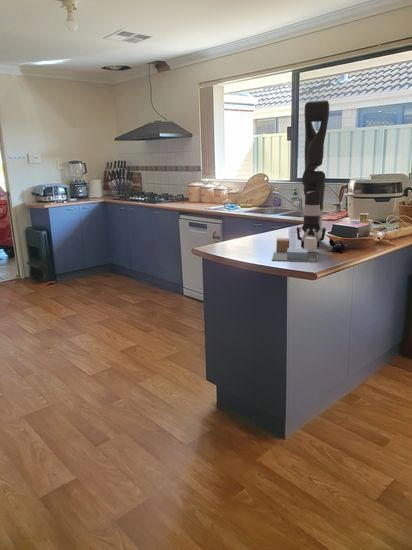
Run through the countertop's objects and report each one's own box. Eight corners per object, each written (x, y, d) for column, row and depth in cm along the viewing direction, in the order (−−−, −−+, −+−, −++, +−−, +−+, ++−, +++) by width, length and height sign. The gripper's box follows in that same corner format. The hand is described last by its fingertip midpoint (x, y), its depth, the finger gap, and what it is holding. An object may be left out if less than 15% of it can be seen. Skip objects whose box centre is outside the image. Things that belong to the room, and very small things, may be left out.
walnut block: (276, 249, 216) (277, 238, 214) (289, 250, 215) (289, 238, 213) (276, 252, 210) (276, 240, 209) (288, 252, 209) (289, 240, 207)
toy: (327, 249, 207) (327, 236, 220) (330, 260, 210) (331, 246, 222) (346, 244, 204) (345, 230, 216) (350, 255, 206) (349, 241, 219)
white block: (303, 249, 213) (304, 237, 212) (316, 249, 212) (316, 237, 210) (303, 251, 208) (304, 239, 206) (316, 252, 206) (317, 239, 205)
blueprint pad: (273, 253, 207) (274, 246, 206) (316, 254, 203) (317, 247, 202) (271, 260, 192) (272, 253, 191) (318, 262, 188) (318, 254, 187)
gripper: (326, 213, 207) (324, 247, 212) (296, 212, 210) (295, 246, 214) (327, 215, 200) (325, 250, 204) (296, 215, 203) (294, 249, 207)
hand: (310, 248), depth 209 cm, fingers closed on white block, 6 cm apart
